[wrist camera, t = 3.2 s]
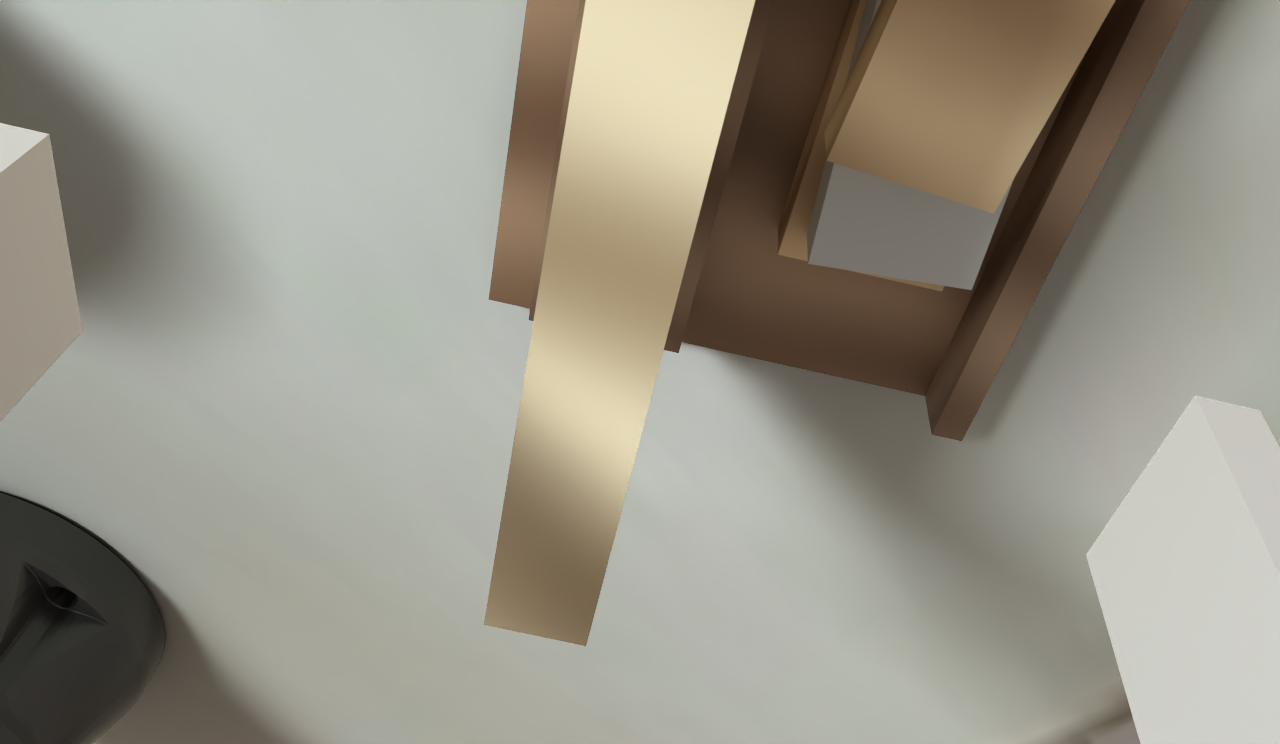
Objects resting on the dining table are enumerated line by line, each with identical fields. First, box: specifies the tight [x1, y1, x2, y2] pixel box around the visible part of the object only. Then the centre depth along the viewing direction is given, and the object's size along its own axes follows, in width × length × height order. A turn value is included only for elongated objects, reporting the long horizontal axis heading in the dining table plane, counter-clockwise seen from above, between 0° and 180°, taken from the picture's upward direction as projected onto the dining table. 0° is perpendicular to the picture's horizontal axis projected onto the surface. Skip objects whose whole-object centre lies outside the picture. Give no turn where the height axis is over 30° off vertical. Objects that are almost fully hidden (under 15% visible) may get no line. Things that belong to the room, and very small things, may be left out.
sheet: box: [484, 0, 755, 646], centre depth 21 cm, size 18×2×16 cm, turn 169°
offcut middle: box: [807, 0, 1014, 290], centre depth 27 cm, size 12×5×2 cm, turn 173°
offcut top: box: [825, 0, 1116, 214], centre depth 24 cm, size 9×4×2 cm, turn 164°
